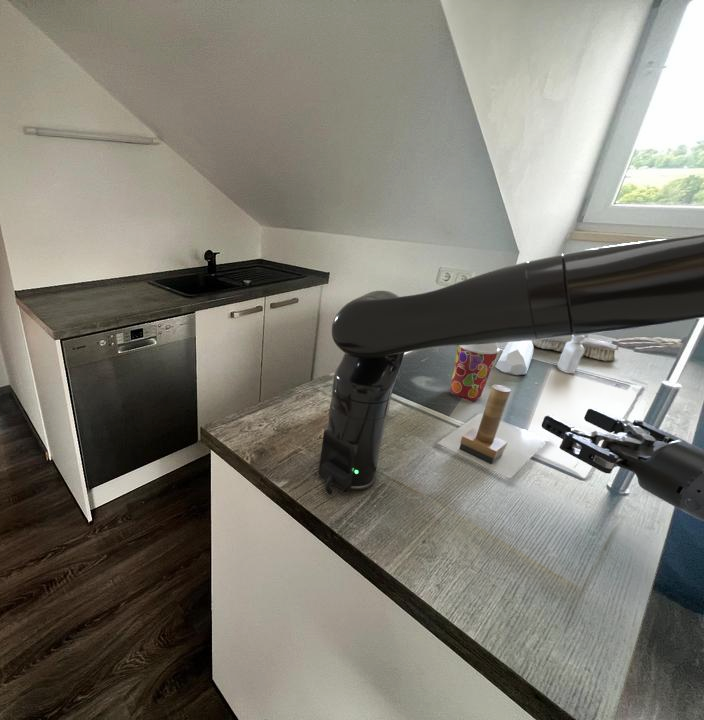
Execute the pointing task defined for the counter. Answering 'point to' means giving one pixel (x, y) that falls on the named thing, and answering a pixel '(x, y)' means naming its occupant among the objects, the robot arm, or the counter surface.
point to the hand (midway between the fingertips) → (566, 417)
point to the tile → (514, 454)
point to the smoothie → (472, 369)
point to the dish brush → (488, 428)
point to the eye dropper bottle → (571, 355)
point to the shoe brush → (590, 346)
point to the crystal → (516, 357)
